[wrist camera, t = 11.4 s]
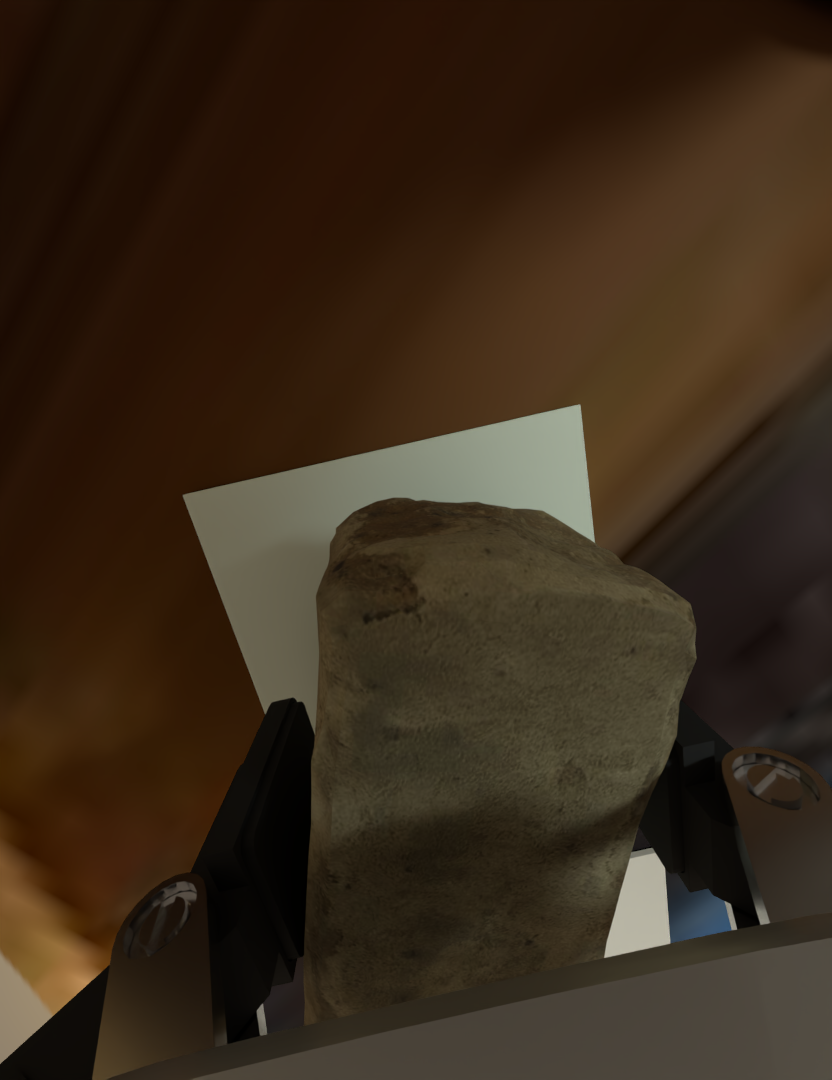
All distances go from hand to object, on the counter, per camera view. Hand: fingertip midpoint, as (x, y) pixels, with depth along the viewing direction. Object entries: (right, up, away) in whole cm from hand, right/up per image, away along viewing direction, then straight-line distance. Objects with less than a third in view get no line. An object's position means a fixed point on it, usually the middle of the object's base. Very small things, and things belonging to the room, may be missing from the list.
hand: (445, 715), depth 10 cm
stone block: (0, 0, +1) cm, 1 cm away
